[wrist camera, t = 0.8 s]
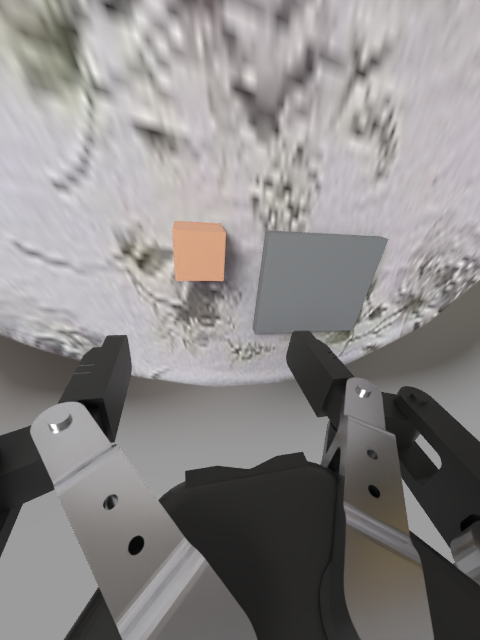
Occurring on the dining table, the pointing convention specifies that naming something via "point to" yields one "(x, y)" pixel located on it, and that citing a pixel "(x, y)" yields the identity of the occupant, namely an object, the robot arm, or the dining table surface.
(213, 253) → the cube
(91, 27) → the dining table surface
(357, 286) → the mat
